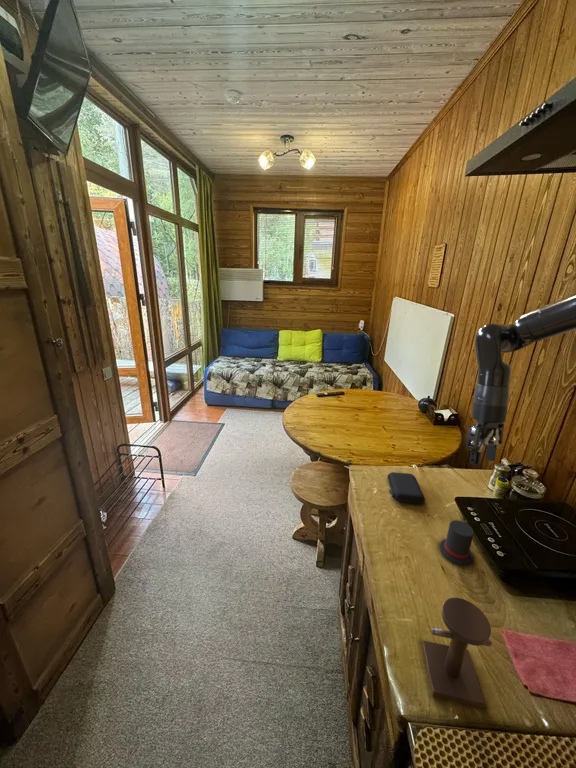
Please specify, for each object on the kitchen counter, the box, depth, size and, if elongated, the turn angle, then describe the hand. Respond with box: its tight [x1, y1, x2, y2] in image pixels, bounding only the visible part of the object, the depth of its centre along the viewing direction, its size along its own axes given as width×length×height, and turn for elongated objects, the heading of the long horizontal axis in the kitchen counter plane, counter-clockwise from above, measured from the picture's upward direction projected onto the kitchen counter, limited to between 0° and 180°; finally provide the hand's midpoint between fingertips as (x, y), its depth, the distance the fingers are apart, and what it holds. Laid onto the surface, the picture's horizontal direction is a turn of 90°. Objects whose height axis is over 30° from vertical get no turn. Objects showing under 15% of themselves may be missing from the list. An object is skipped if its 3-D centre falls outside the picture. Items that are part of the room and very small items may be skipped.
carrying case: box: [387, 471, 426, 505], centre depth 103 cm, size 11×3×15 cm
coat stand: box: [421, 597, 492, 709], centre depth 53 cm, size 9×8×14 cm
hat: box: [439, 520, 475, 566], centre depth 78 cm, size 8×8×8 cm
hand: (482, 462), depth 81 cm, fingers open, 8 cm apart
